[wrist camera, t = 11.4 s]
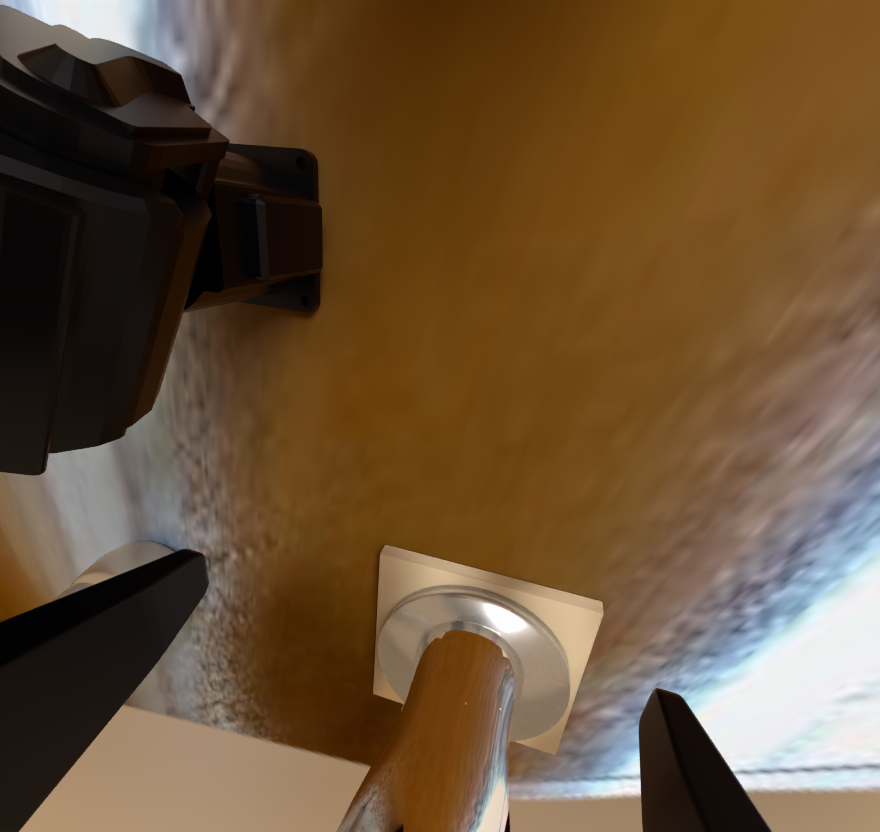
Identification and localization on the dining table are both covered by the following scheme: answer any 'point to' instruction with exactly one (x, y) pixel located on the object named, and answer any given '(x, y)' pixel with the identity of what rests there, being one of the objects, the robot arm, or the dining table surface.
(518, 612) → the flange
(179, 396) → the dining table surface
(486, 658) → the beer glass
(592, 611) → the base plate
